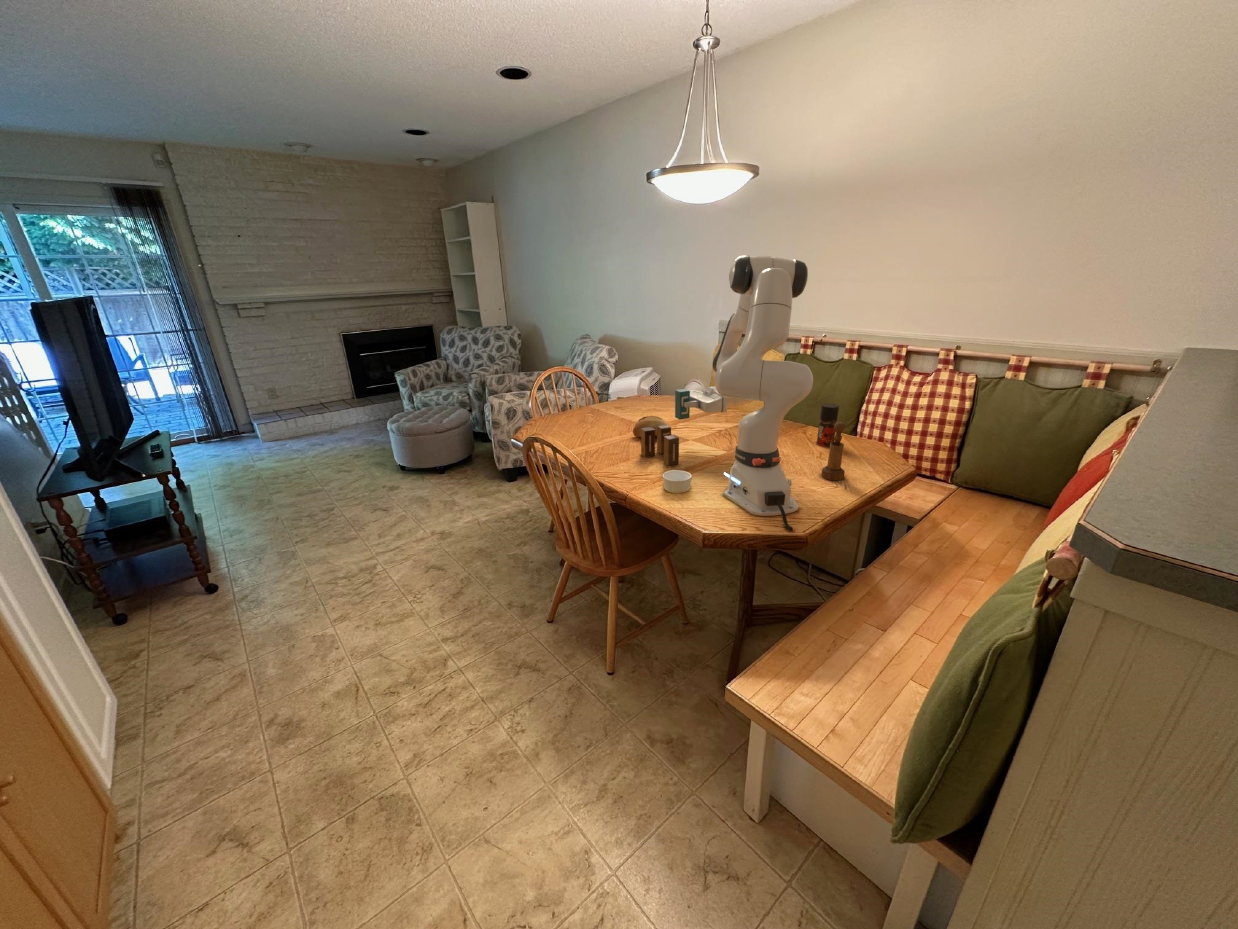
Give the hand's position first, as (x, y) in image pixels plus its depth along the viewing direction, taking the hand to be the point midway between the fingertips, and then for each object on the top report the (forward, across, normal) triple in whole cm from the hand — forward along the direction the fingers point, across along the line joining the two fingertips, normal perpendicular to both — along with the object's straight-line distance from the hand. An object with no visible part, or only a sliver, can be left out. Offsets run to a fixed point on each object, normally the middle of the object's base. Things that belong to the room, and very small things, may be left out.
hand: (680, 403), depth 169 cm
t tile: (+5, -3, +19) cm, 20 cm away
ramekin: (+16, +27, +19) cm, 37 cm away
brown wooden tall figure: (-33, +41, +19) cm, 56 cm away
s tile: (-1, 0, +6) cm, 6 cm away
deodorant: (-53, +16, +19) cm, 59 cm away
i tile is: (+8, +9, +19) cm, 22 cm away
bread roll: (+1, -23, +19) cm, 30 cm away
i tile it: (+11, -3, +19) cm, 22 cm away
